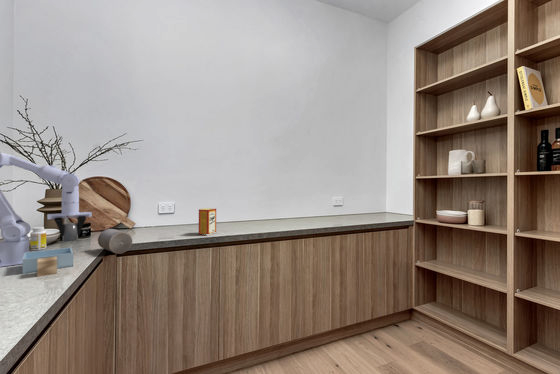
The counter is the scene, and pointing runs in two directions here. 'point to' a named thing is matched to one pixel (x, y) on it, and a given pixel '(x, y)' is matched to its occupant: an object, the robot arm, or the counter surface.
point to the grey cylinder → (70, 232)
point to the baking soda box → (207, 220)
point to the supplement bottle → (38, 239)
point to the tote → (32, 257)
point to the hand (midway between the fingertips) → (70, 235)
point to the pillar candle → (115, 241)
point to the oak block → (46, 266)
